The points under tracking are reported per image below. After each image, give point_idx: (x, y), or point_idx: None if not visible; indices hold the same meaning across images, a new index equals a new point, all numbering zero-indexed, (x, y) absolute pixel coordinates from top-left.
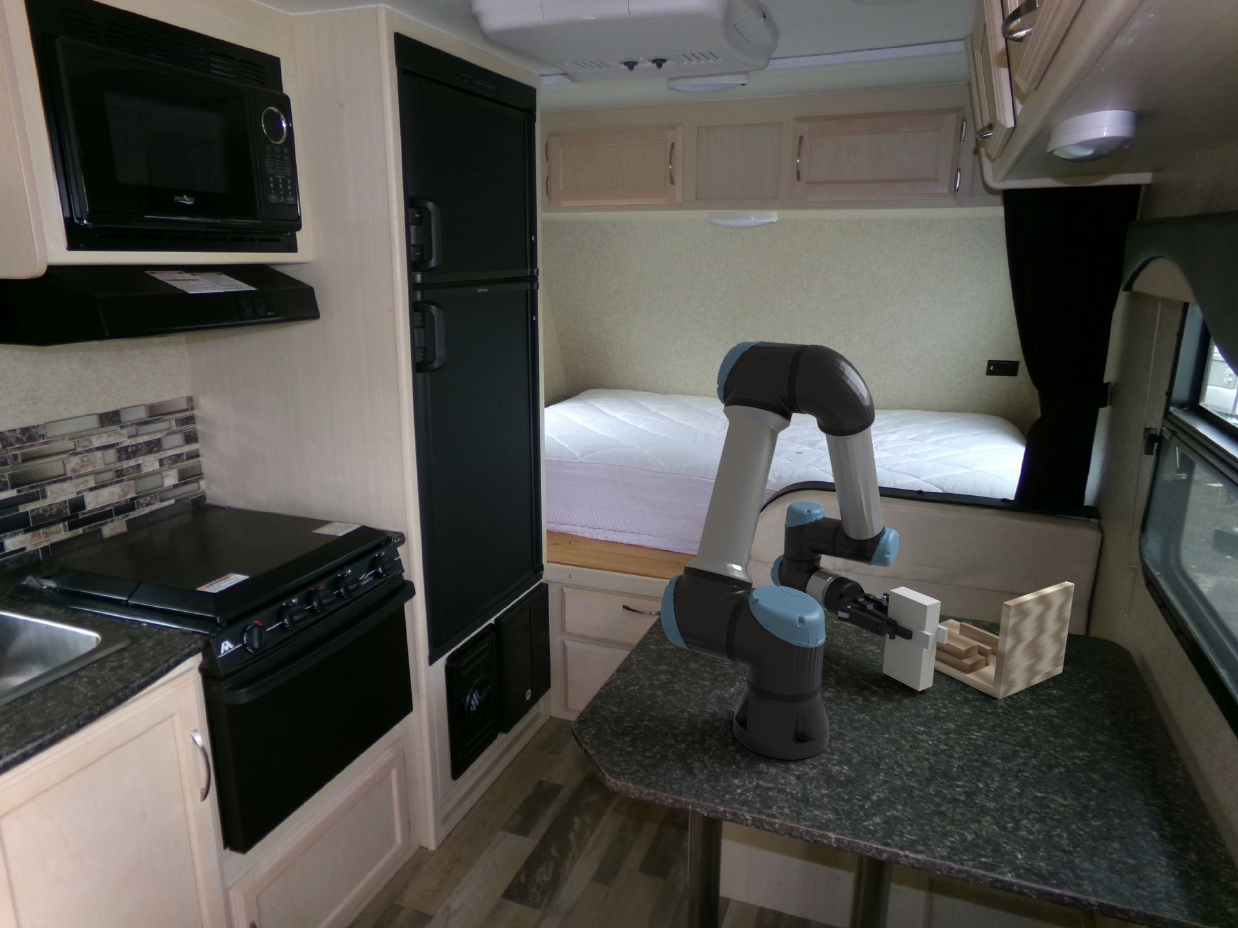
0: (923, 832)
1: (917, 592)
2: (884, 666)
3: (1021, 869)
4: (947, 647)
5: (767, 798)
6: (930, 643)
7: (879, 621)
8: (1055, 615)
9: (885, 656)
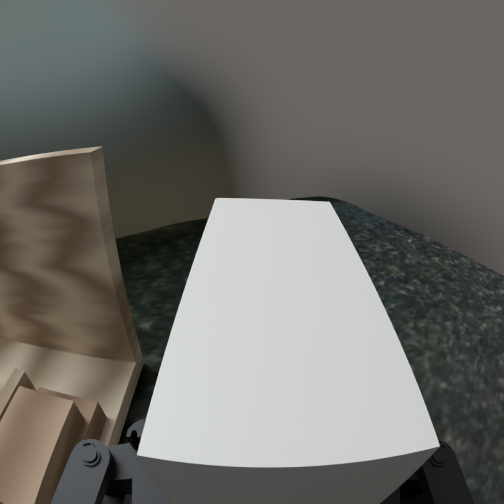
0: (470, 272)
1: (192, 288)
2: None
3: (416, 236)
4: (61, 454)
5: None
6: None
7: (449, 473)
8: None
9: None
